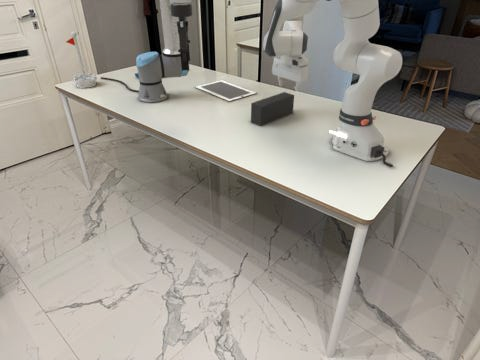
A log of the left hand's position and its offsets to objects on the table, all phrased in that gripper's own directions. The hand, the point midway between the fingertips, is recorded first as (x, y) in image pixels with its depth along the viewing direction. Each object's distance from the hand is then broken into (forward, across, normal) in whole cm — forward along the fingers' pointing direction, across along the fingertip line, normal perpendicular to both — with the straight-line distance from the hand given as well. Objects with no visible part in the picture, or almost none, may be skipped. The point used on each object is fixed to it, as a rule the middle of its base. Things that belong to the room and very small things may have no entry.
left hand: (186, 65), depth 131 cm
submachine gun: (+29, -98, -23) cm, 104 cm away
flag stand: (+29, -76, -64) cm, 104 cm away
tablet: (+29, -57, +18) cm, 66 cm away
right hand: (+17, -20, +46) cm, 53 cm away
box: (+29, -15, +38) cm, 50 cm away
